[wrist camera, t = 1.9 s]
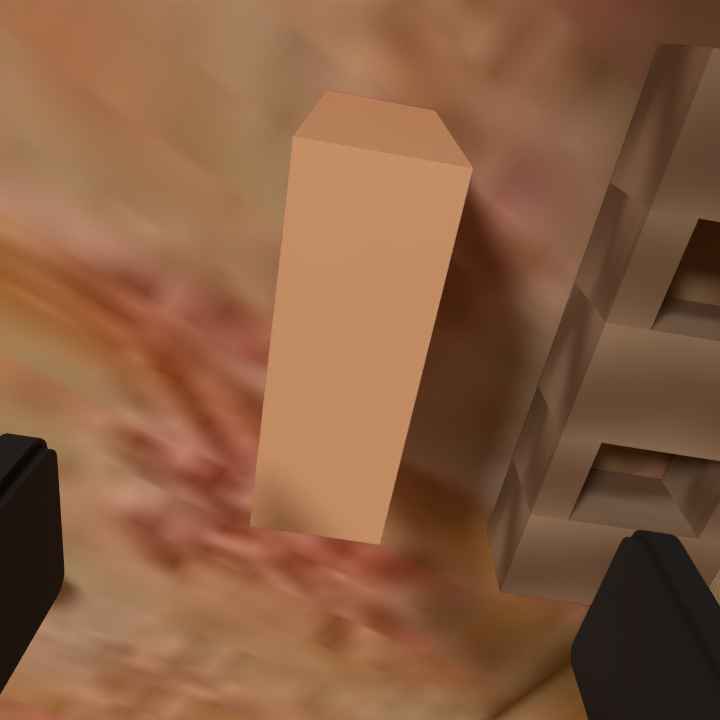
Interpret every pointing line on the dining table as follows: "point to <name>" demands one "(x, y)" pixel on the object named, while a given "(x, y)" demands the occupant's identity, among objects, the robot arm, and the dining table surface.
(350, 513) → the peach block
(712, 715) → the robot arm
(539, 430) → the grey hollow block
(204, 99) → the dining table surface
